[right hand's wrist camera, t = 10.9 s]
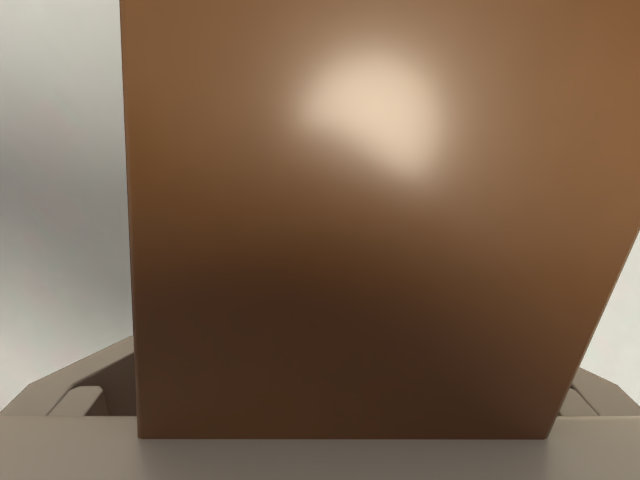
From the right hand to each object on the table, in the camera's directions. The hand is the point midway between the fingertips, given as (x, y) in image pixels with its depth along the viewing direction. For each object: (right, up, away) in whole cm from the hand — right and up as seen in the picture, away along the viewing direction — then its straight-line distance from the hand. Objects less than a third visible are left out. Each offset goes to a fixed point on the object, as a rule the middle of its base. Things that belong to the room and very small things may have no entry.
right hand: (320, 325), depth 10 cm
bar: (+1, +8, +1) cm, 8 cm away
